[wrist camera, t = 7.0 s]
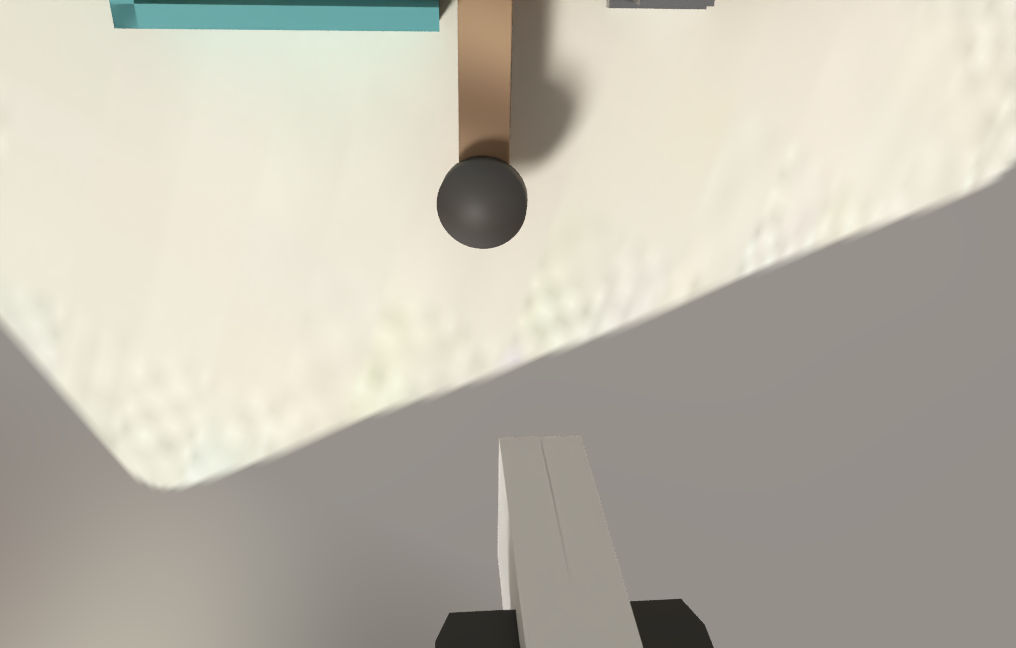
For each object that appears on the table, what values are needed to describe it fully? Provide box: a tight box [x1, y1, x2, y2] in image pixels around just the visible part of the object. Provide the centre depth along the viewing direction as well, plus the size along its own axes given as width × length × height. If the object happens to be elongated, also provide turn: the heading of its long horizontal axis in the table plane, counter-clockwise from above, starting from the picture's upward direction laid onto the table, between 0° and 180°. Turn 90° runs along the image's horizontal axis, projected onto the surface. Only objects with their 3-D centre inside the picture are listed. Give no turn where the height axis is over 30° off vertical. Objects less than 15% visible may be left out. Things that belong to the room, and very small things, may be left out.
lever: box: [437, 0, 528, 249], centre depth 29 cm, size 17×17×4 cm
